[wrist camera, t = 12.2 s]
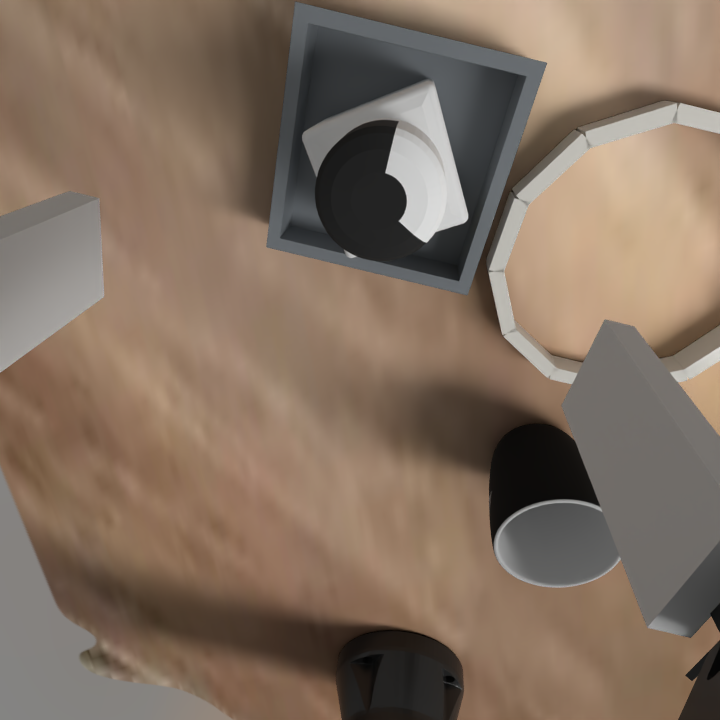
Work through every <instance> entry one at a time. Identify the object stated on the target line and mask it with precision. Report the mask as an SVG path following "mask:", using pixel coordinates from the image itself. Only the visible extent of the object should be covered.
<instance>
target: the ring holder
mask: <svg viewBox="0 0 720 720" xmlns="http://www.w3.org/2000/svg"><path fill="white" fill-rule="evenodd" d="M672 123H677V124H681V125H685V126H690V127H694V128H698V129H702V130H706V131H710V132H714V133H718V134H720V113H719V112H715V111H711V110H707V109H703V108H699V107H694V106H690V105H686V104H682V103H677V102H672V101H661V102H657V103H654V104H651V105H648V106H645V107H641V108H638V109H635V110H632V111H629V112H625V113H622V114H619V115H616V116H613V117H610V118H606V119H603V120H600V121H597V122H594V123H590V124H587V125H584V126H581V127H578V128H577V131H576V130H573V131H572V132H571V133H570V134H569V135H568V136H567V137H566V138H565V139H564V140H562V141H561V142H560V143H559V144H558V145H557V146H556V147H555V148H554V149H553V150H552V151H551V152H550V153H549V154H548V155H547V156H546V157H545V158H544V159H542V160H541V161H540V162H539V163H538V164H537V165H536V166H535V167H534V168H533V169H532V170H531V171H530V172H529V173H528V174H527V175H526V176H525V177H524V178H523V179H521V180H520V181H519V182H518V183H517V184H516V185H515V186H514V187H513V188H512V190H513V191H514V192H511V191H510V193H509V196H508V199H507V202H506V204H505V207H504V210H503V213H502V216H501V219H500V222H499V224H498V227H497V230H496V233H495V236H494V239H493V242H492V245H491V247H490V250H489V253H488V256H487V259H486V266H487V270H488V275H489V279H490V284H491V288H492V293H493V297H494V302H495V306H496V311H497V315H498V320H499V324H500V328H501V332H502V335H503V337H504V338H505V339H507V340H508V341H509V342H510V343H511V344H512V345H513V346H514V347H515V348H516V349H517V350H518V351H519V352H520V353H521V354H522V355H524V356H525V357H526V358H527V359H528V360H529V361H530V362H531V363H532V364H533V365H534V366H535V367H536V368H537V369H538V370H539V371H541V372H542V373H543V374H544V375H545V376H546V377H547V378H548V377H549V379H552V380H556V381H560V382H564V383H569V384H573V382H574V380H575V378H576V376H577V374H578V372H579V370H580V368H581V366H582V364H583V363H582V362H578V361H574V360H570V359H566V358H561V357H557V356H553V355H551V354H550V353H549V352H548V351H547V350H546V349H544V348H543V347H542V346H541V345H540V344H539V343H538V342H537V341H536V340H535V339H534V338H533V337H532V336H531V335H530V334H529V333H528V332H527V331H526V330H525V329H524V328H523V327H522V326H521V325H520V324H518V323H517V322H516V321H515V320H514V317H513V313H512V308H511V303H510V298H509V293H508V288H507V283H506V278H505V274H504V270H505V267H506V264H507V262H508V259H509V256H510V254H511V251H512V248H513V246H514V243H515V240H516V238H517V235H518V232H519V230H520V227H521V224H522V221H523V219H524V216H525V213H526V211H527V208H528V205H529V204H530V203H531V202H532V201H533V200H534V199H535V198H537V197H538V196H539V195H540V194H541V193H542V192H543V191H544V190H545V189H546V188H547V187H549V186H550V185H551V184H552V183H553V182H554V181H555V180H556V179H557V178H558V177H559V176H561V175H562V174H563V173H564V172H565V171H566V170H567V169H568V168H569V167H570V166H571V165H573V164H574V163H575V162H576V161H577V160H578V159H579V158H580V157H581V156H582V155H583V154H585V153H586V152H587V151H588V150H589V149H590V148H592V147H596V146H599V145H602V144H606V143H609V142H612V141H616V140H619V139H622V138H625V137H629V136H632V135H635V134H639V133H642V132H645V131H649V130H652V129H655V128H659V127H662V126H665V125H669V124H672ZM660 360H661V362H662V363H663V364H664V366H665V367H666V368H667V369H668V371H669V372H670V373H671V375H672V376H673V377H674V378H675V380H676V381H677V382H682V381H687V377H688V378H689V379H692V378H693V377H695V376H696V375H698V374H699V373H701V372H703V371H704V370H706V369H707V368H709V367H711V366H712V365H714V364H715V363H717V362H719V361H720V325H719V326H717V327H716V328H714V329H713V330H711V331H710V332H708V333H707V334H705V335H704V336H702V337H701V338H699V339H698V340H696V341H695V342H693V343H692V344H690V345H689V346H687V347H686V348H684V349H683V350H681V351H680V352H678V353H677V354H675V355H674V356H670V357H665V358H660Z"/></svg>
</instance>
